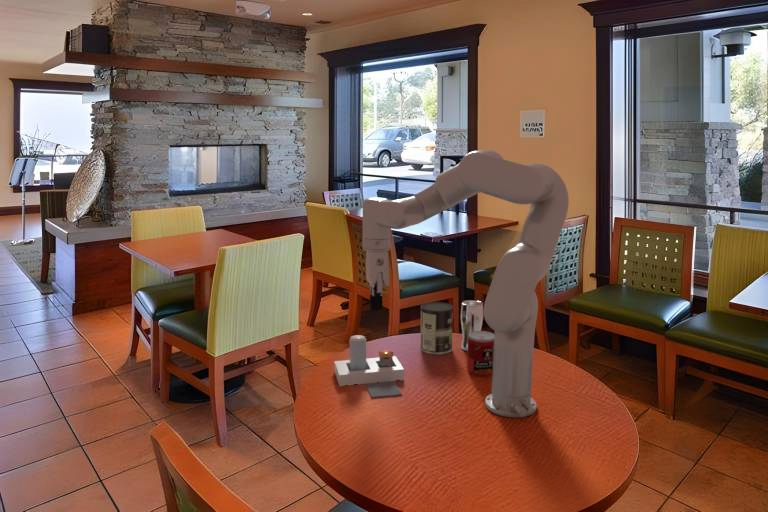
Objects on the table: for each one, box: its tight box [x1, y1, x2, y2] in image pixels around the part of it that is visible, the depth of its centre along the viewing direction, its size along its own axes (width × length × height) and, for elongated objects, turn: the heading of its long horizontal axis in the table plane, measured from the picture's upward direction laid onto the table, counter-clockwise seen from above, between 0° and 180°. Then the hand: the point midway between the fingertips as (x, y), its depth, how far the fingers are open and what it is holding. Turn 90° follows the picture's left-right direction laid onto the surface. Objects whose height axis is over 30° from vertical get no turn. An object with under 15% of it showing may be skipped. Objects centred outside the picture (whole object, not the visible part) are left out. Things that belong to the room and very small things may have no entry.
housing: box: [334, 355, 405, 387], centre depth 159 cm, size 10×18×3 cm, turn 103°
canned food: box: [466, 330, 494, 378], centre depth 161 cm, size 8×8×11 cm
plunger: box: [378, 349, 394, 368], centre depth 160 cm, size 4×4×6 cm
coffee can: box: [419, 301, 454, 355], centre depth 179 cm, size 10×10×14 cm
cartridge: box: [349, 334, 367, 371], centre depth 158 cm, size 5×5×12 cm
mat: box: [365, 381, 402, 399], centre depth 150 cm, size 8×8×1 cm
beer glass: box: [460, 299, 484, 352], centre depth 179 cm, size 7×7×15 cm
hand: (376, 308), depth 156 cm, fingers closed
